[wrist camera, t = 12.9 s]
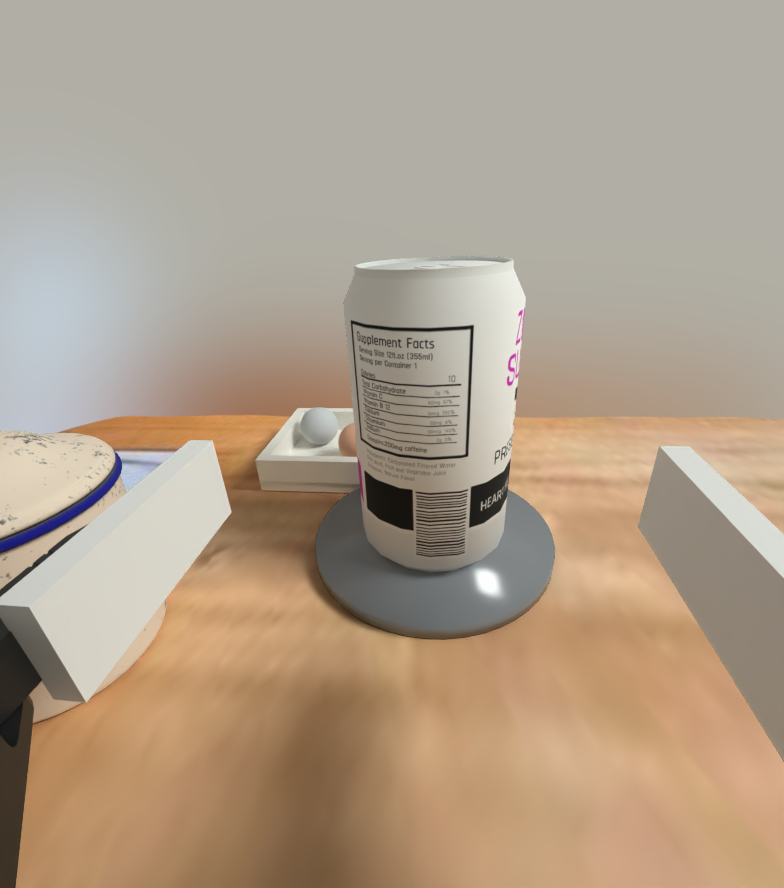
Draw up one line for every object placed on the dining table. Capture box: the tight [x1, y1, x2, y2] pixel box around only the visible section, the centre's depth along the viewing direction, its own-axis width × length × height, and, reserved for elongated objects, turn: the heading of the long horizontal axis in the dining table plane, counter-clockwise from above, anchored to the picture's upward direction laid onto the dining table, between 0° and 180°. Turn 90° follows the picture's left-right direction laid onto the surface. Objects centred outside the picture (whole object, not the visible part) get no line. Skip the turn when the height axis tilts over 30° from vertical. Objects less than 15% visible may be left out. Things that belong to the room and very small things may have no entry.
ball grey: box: [300, 407, 338, 445], centre depth 37 cm, size 3×3×3 cm
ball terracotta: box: [338, 423, 357, 457], centre depth 33 cm, size 3×3×3 cm
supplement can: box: [343, 256, 526, 572], centre depth 22 cm, size 8×8×15 cm
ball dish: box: [255, 408, 360, 493], centre depth 35 cm, size 10×10×3 cm
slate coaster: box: [315, 488, 555, 639], centre depth 26 cm, size 14×14×1 cm
